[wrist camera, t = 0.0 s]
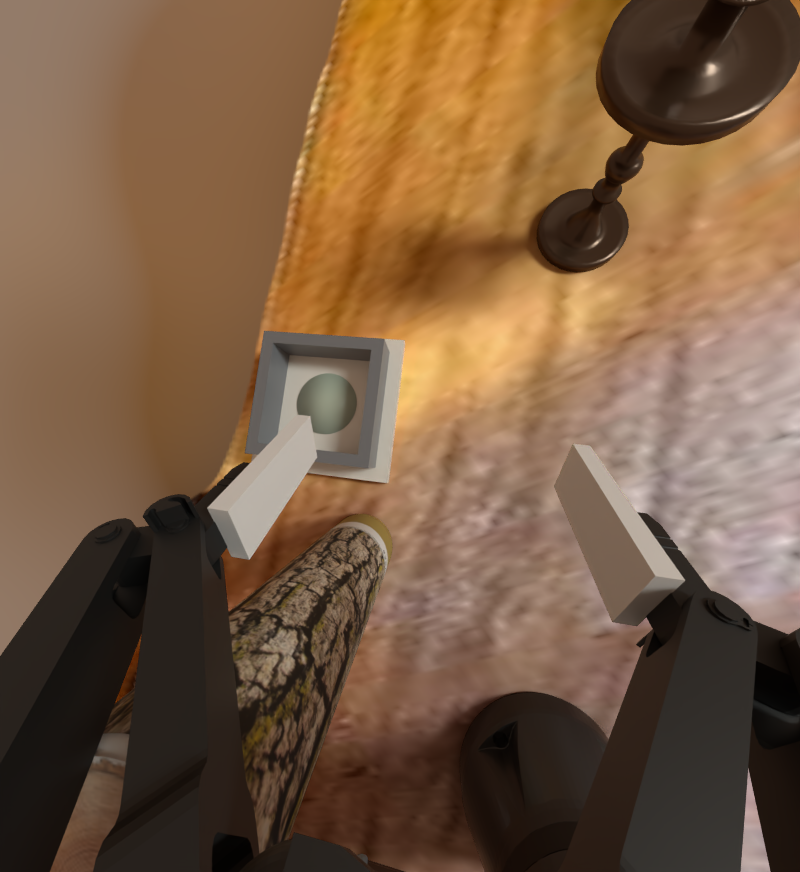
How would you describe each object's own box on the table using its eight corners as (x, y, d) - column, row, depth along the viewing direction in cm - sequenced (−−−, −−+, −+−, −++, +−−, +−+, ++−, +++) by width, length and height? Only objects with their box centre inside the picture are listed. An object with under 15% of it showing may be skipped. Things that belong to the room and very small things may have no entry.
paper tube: (395, 514, 31) (251, 785, 6) (391, 578, 31) (225, 1131, 6) (335, 509, 32) (-13, 731, 7) (331, 571, 31) (-47, 1036, 7)
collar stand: (388, 482, 31) (381, 486, 27) (256, 465, 33) (229, 465, 29) (405, 343, 33) (401, 325, 28) (276, 335, 35) (253, 316, 30)
